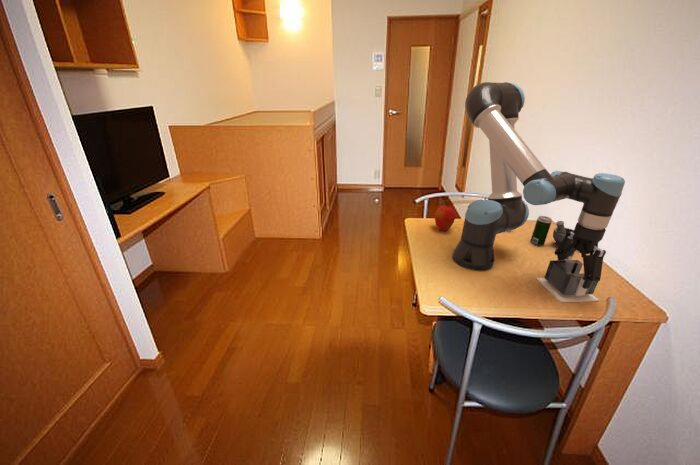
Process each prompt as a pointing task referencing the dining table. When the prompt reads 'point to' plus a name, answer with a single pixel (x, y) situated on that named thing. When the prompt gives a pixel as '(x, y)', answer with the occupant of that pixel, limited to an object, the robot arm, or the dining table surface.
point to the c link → (567, 276)
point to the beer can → (541, 230)
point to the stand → (570, 257)
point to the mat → (565, 298)
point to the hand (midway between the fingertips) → (567, 285)
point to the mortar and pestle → (560, 233)
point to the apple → (444, 217)
